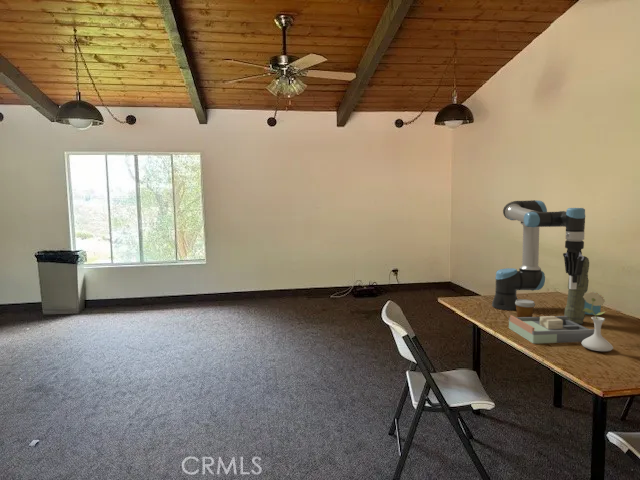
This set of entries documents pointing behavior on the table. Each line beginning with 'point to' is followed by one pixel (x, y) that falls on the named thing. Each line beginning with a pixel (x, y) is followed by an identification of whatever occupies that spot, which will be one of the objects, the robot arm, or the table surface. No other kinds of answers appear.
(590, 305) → the data package
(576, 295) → the thermos
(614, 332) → the table surface
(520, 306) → the disposable coffee cup
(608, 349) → the flower in vase
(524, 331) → the box
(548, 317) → the birch block
